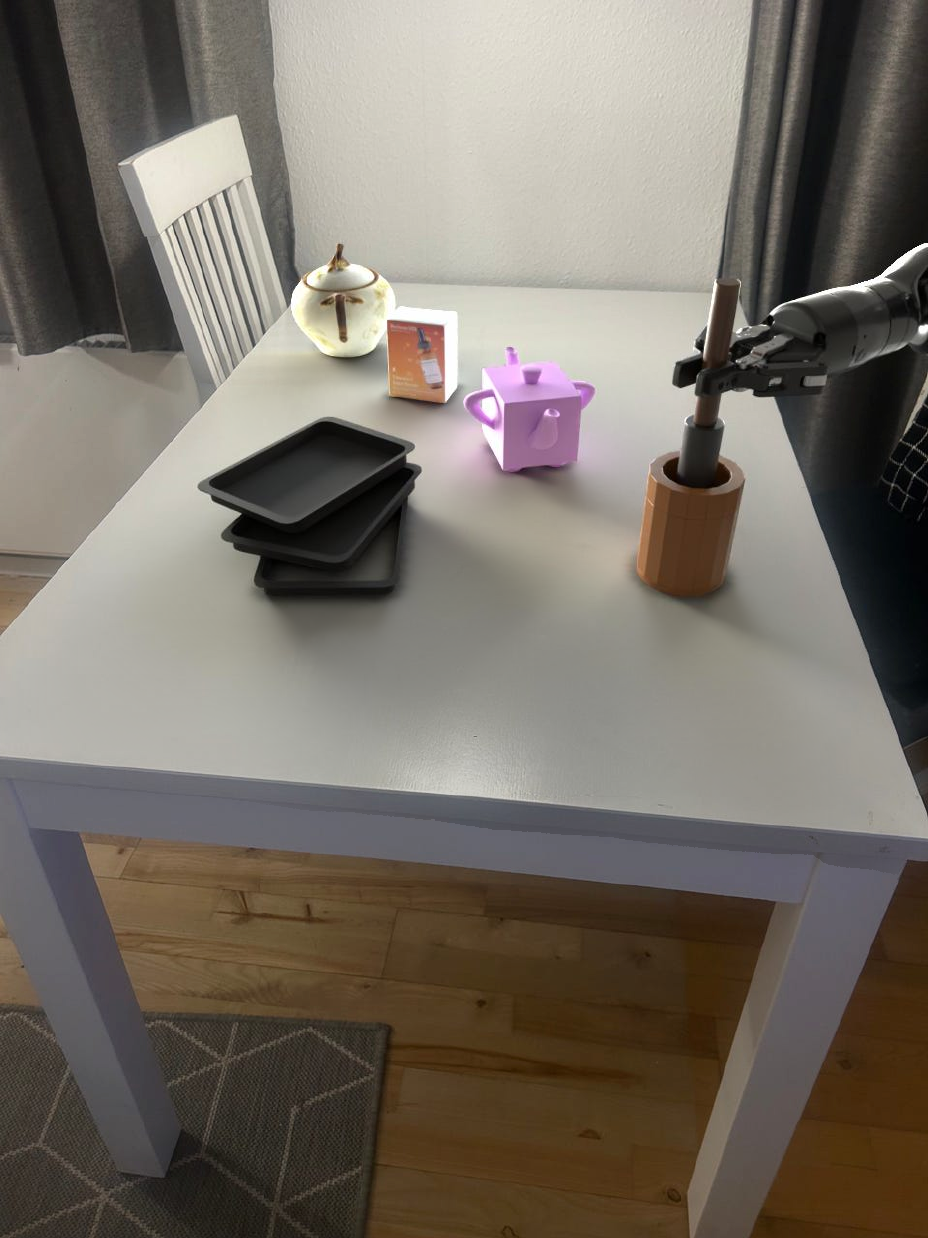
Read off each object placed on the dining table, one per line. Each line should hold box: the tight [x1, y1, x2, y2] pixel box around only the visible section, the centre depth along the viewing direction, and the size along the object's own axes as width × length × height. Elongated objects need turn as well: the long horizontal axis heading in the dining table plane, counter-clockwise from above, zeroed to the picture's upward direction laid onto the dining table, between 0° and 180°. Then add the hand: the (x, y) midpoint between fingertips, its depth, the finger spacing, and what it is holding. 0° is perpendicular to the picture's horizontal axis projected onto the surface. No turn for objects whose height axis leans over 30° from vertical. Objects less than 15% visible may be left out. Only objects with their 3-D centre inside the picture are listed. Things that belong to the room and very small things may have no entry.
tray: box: [196, 416, 423, 596], centre depth 95 cm, size 30×23×5 cm
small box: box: [386, 305, 458, 404], centre depth 120 cm, size 8×6×10 cm
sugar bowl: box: [290, 242, 396, 358], centre depth 131 cm, size 20×15×15 cm
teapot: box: [463, 346, 596, 473], centre depth 105 cm, size 15×13×11 cm
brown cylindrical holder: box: [636, 450, 746, 597], centre depth 85 cm, size 8×8×11 cm
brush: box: [676, 277, 742, 489], centre depth 77 cm, size 3×3×18 cm
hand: (688, 380), depth 75 cm, fingers closed on brush, 2 cm apart
